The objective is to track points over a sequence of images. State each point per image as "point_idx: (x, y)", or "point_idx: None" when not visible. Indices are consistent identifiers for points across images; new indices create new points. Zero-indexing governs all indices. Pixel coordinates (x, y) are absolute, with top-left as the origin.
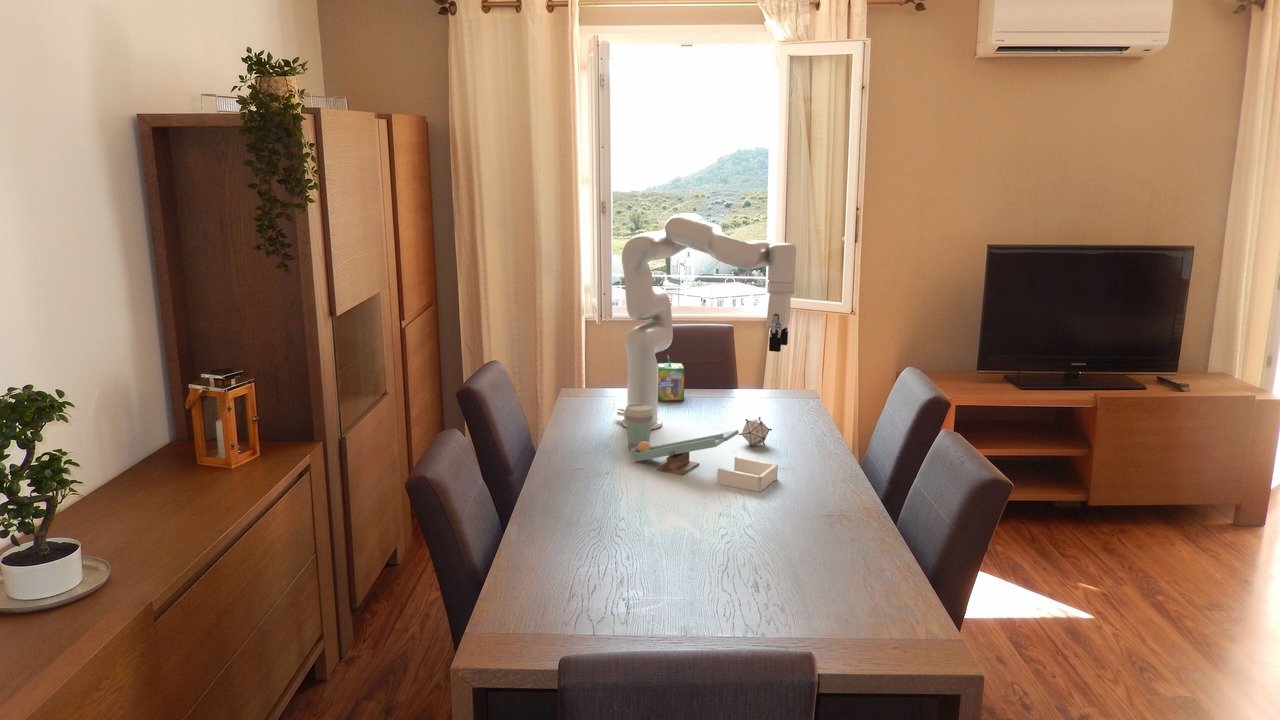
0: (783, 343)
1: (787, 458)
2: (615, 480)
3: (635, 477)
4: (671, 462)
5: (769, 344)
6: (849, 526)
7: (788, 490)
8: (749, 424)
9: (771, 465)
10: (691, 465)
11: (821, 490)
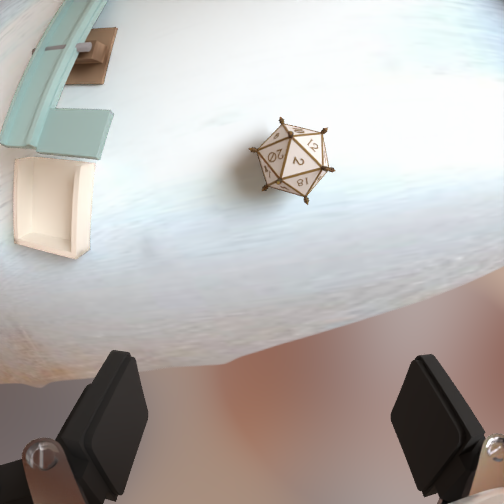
0: (399, 407)
1: (216, 247)
2: (12, 17)
3: (25, 29)
4: None
5: (94, 384)
6: (11, 350)
7: (56, 275)
8: (280, 145)
9: (72, 247)
10: (83, 77)
11: (82, 322)
